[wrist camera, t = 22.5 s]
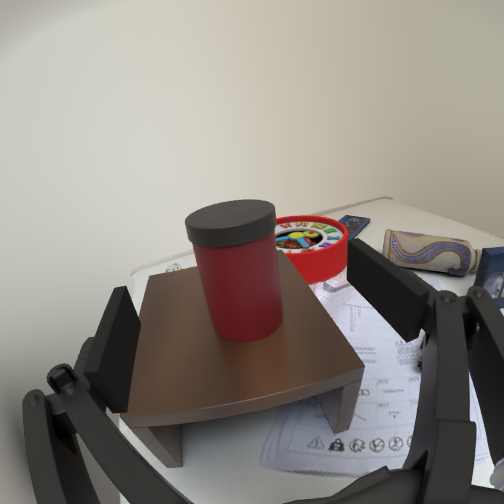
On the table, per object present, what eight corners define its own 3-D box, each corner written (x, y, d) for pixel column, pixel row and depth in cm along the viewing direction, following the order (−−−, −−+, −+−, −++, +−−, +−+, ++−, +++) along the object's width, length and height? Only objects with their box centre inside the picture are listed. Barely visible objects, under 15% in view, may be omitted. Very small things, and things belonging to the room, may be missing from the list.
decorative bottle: (378, 271, 47) (381, 237, 44) (383, 254, 53) (385, 223, 50) (503, 288, 34) (512, 255, 31) (495, 269, 39) (502, 238, 37)
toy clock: (322, 210, 64) (367, 241, 46) (323, 233, 66) (366, 270, 48) (237, 225, 62) (255, 264, 44) (241, 249, 64) (259, 296, 46)
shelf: (167, 468, 20) (119, 416, 16) (169, 333, 40) (149, 275, 35) (349, 429, 22) (365, 365, 18) (286, 309, 42) (281, 249, 38)
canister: (213, 351, 22) (182, 235, 17) (208, 305, 28) (186, 209, 24) (295, 333, 22) (286, 215, 18) (274, 291, 29) (263, 195, 24)
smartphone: (321, 233, 64) (345, 214, 74) (321, 236, 65) (345, 217, 74) (351, 238, 59) (371, 218, 69) (351, 241, 60) (371, 221, 70)
